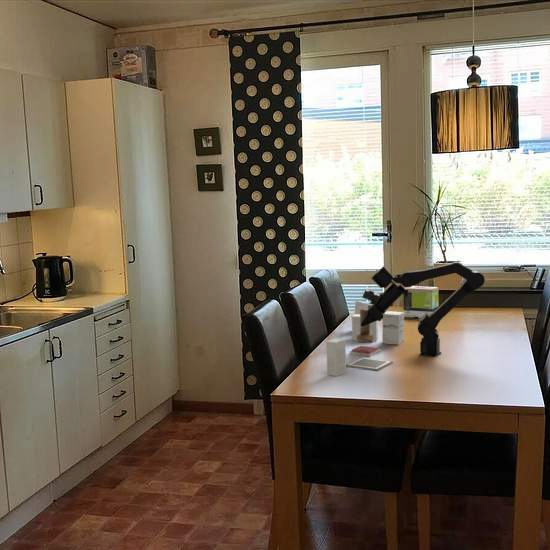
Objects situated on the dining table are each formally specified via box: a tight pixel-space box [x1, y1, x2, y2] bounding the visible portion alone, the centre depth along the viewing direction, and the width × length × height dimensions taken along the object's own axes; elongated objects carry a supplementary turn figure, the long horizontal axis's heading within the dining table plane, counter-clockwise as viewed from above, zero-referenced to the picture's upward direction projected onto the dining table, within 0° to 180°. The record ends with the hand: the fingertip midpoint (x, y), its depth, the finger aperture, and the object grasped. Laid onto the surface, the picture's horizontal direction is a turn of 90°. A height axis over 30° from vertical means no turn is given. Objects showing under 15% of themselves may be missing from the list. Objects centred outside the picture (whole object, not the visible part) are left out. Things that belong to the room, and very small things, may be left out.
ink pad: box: [348, 345, 381, 358], centre depth 271 cm, size 9×9×2 cm
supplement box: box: [381, 310, 405, 346], centre depth 287 cm, size 7×7×13 cm
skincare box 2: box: [351, 313, 379, 342], centre depth 295 cm, size 10×6×10 cm, turn 74°
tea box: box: [402, 285, 440, 319], centre depth 342 cm, size 15×10×15 cm, turn 58°
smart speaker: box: [354, 300, 372, 314], centre depth 311 cm, size 10×9×14 cm
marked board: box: [346, 357, 394, 372], centre depth 253 cm, size 13×13×1 cm
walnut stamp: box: [356, 309, 374, 344], centre depth 270 cm, size 6×6×12 cm
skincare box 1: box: [325, 337, 347, 377], centre depth 241 cm, size 6×4×12 cm
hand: (361, 324), depth 270 cm, fingers closed on walnut stamp, 4 cm apart
